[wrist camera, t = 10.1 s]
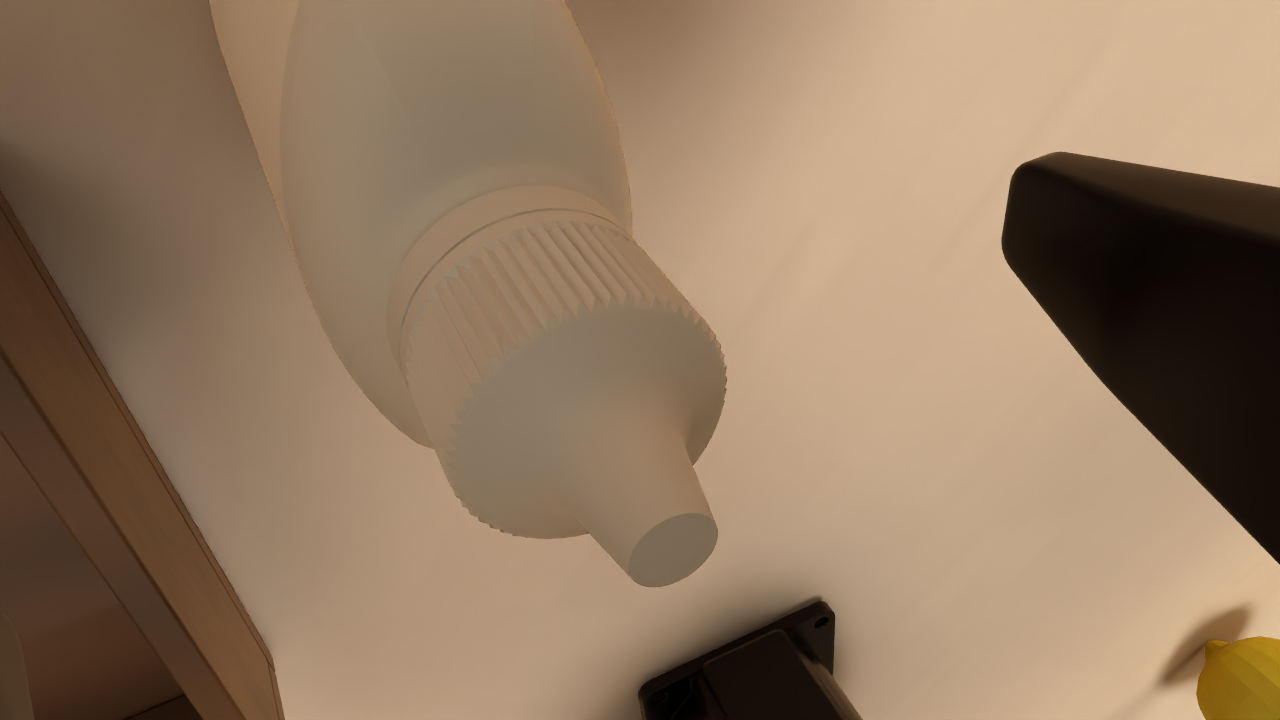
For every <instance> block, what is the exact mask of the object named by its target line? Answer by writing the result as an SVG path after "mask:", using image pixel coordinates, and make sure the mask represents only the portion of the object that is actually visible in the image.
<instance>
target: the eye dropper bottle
mask: <svg viewBox="0 0 1280 720" xmlns="http://www.w3.org/2000/svg"><path fill="white" fill-rule="evenodd" d="M209 4H210V9H211V14H212V19H213V23H214V26H215V30H216V34H217V38H218V42H219V45H220V48H221V51H222V54H223V57H224V60H225V63H226V66H227V69H228V72H229V75H230V78H231V80H232V83H233V86H234V89H235V92H236V94H237V97H238V100H239V103H240V106H241V108H242V111H243V114H244V117H245V120H246V122H247V125H248V128H249V131H250V134H251V136H252V139H253V142H254V145H255V147H256V150H257V153H258V156H259V159H260V161H261V164H262V167H263V170H264V173H265V175H266V178H267V181H268V184H269V187H270V189H271V192H272V195H273V198H274V201H275V203H276V206H277V209H278V212H279V214H280V217H281V220H282V223H283V226H284V228H285V231H286V234H287V237H288V239H289V242H290V245H291V248H292V250H293V253H294V256H295V259H296V261H297V264H298V267H299V270H300V272H301V275H302V278H303V281H304V283H305V286H306V288H307V291H308V293H309V296H310V298H311V300H312V303H313V305H314V308H315V310H316V312H317V315H318V317H319V319H320V322H321V324H322V326H323V328H324V330H325V332H326V334H327V336H328V338H329V340H330V342H331V344H332V346H333V348H334V350H335V351H336V353H337V354H338V356H339V358H340V359H341V361H342V363H343V364H344V366H345V367H346V369H347V371H348V372H349V373H350V375H351V376H352V378H353V379H354V380H355V382H356V383H357V384H358V386H359V387H360V388H361V390H362V391H363V392H364V394H365V395H366V396H367V397H368V399H369V400H370V401H371V402H372V403H373V404H374V405H375V406H376V407H377V409H378V410H379V411H380V412H381V413H382V414H383V415H384V416H385V417H386V418H387V419H388V420H389V421H390V422H391V423H393V424H394V425H395V426H396V427H397V428H398V429H399V430H400V431H402V432H403V433H404V434H406V435H407V436H408V437H410V438H411V439H413V440H414V441H415V442H417V443H419V444H421V445H424V446H427V447H429V448H432V449H435V452H436V454H437V456H438V458H439V461H440V463H441V465H442V468H443V470H444V472H445V474H446V477H447V479H448V481H449V484H450V486H451V487H452V489H453V491H454V493H455V496H456V497H457V498H459V499H460V501H461V503H462V506H463V507H466V508H468V509H469V512H470V514H471V515H474V516H476V517H478V519H479V521H480V522H483V523H487V524H489V526H490V527H491V528H495V529H500V531H501V532H504V533H510V534H512V535H514V536H522V537H525V538H538V539H554V538H566V537H574V536H579V535H583V534H588V533H590V535H591V536H592V537H593V538H594V539H595V540H596V541H597V542H598V543H599V544H600V545H601V546H602V547H603V548H604V549H605V551H606V552H607V553H608V554H609V555H610V556H611V557H612V558H613V559H614V560H615V561H616V562H617V563H618V564H619V566H620V567H621V568H622V569H623V570H624V571H625V572H626V573H627V574H628V575H629V576H630V577H631V578H632V579H633V580H634V581H635V582H636V583H638V584H640V585H642V586H646V587H661V586H666V585H670V584H673V583H675V582H678V581H680V580H682V579H684V578H685V577H687V576H689V575H690V574H692V573H693V572H694V571H696V570H697V569H698V568H699V567H700V566H701V565H702V564H703V563H704V562H705V561H706V560H707V559H708V557H709V556H710V554H711V553H712V551H713V549H714V547H715V545H716V542H717V537H718V530H717V526H716V523H715V521H714V518H713V516H712V513H711V511H710V508H709V506H708V503H707V501H706V498H705V496H704V493H703V491H702V488H701V486H700V483H699V481H698V478H697V476H696V474H695V471H694V469H693V465H694V464H695V462H696V461H697V460H698V458H699V457H700V455H701V454H702V452H703V451H704V449H705V448H706V446H707V444H708V442H709V441H710V439H711V437H712V435H713V433H714V430H715V428H716V426H717V423H718V421H719V418H720V415H721V411H722V408H723V405H724V402H725V401H724V397H725V394H726V390H727V389H726V388H725V386H726V381H727V377H726V375H725V373H726V367H727V366H726V365H725V364H724V354H723V353H722V352H721V350H720V349H721V344H720V343H719V342H718V341H717V340H716V334H715V333H714V332H713V331H712V330H711V329H710V328H709V325H708V324H707V323H706V321H705V320H704V319H703V318H702V317H701V316H700V315H699V313H698V312H697V311H696V310H695V309H694V308H693V307H692V305H691V304H690V303H689V302H688V301H687V300H686V299H685V297H684V296H683V295H682V294H681V293H680V292H679V291H678V289H677V288H676V287H675V286H674V285H673V284H672V283H671V281H670V280H669V279H668V278H667V277H666V276H665V274H664V273H663V272H662V271H661V270H660V269H659V268H658V266H657V265H656V264H655V263H654V262H653V261H652V260H651V258H650V257H649V256H648V255H647V254H646V253H645V252H644V250H643V249H642V248H641V247H640V246H639V245H638V244H637V242H636V241H635V240H634V239H633V238H632V213H631V201H630V189H629V183H628V176H627V170H626V164H625V159H624V153H623V149H622V145H621V141H620V136H619V132H618V128H617V125H616V121H615V118H614V115H613V112H612V109H611V106H610V102H609V99H608V96H607V93H606V90H605V88H604V85H603V82H602V80H601V77H600V75H599V72H598V69H597V67H596V64H595V62H594V60H593V58H592V56H591V54H590V52H589V49H588V47H587V45H586V43H585V41H584V39H583V37H582V35H581V32H580V30H579V28H578V26H577V24H576V22H575V21H574V19H573V17H572V15H571V13H570V11H569V9H568V7H567V6H566V4H565V2H564V0H209Z"/></svg>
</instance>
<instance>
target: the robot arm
mask: <svg viewBox="0 0 1280 720" xmlns="http://www.w3.org/2000/svg"><path fill="white" fill-rule="evenodd" d="M1001 243H1002V250H1003V254H1004V257H1005V259H1006V261H1007V263H1008V265H1009V266H1010V268H1011V269H1012V270H1013V272H1014V273H1015V274H1016V276H1017V277H1018V278H1019V279H1020V281H1021V282H1022V283H1023V284H1024V286H1025V287H1026V288H1027V289H1028V291H1029V292H1030V293H1031V294H1032V296H1033V297H1034V298H1035V299H1036V301H1037V302H1038V303H1039V304H1040V306H1041V307H1042V308H1043V309H1044V311H1045V312H1046V313H1047V314H1048V316H1049V317H1050V318H1051V320H1052V321H1053V322H1054V323H1055V325H1056V326H1057V327H1058V328H1059V330H1060V331H1061V332H1062V333H1063V335H1064V336H1065V337H1066V338H1067V340H1068V341H1069V342H1070V343H1071V345H1072V346H1073V347H1074V348H1075V350H1076V351H1077V352H1078V353H1079V355H1080V356H1081V357H1082V358H1083V360H1084V361H1085V362H1086V363H1087V365H1088V366H1089V367H1090V368H1091V369H1092V371H1093V372H1094V373H1095V374H1096V375H1097V377H1098V378H1099V379H1100V380H1101V381H1102V382H1103V384H1104V385H1105V386H1106V387H1107V388H1108V389H1109V390H1110V391H1111V392H1112V393H1113V394H1114V395H1115V396H1116V398H1117V399H1118V400H1119V401H1120V402H1121V403H1122V404H1123V405H1124V406H1125V407H1126V408H1127V409H1128V410H1129V411H1130V412H1131V413H1132V414H1133V415H1134V416H1135V417H1136V418H1137V419H1138V420H1139V421H1140V422H1141V423H1142V424H1143V425H1144V426H1145V427H1146V428H1147V429H1148V430H1149V431H1150V432H1151V433H1152V434H1153V435H1154V437H1155V438H1156V439H1157V440H1158V441H1159V442H1160V443H1161V444H1162V445H1163V446H1164V447H1165V448H1166V449H1167V450H1168V451H1169V452H1170V453H1171V454H1172V455H1173V456H1174V457H1175V458H1176V459H1177V460H1178V461H1179V462H1180V463H1181V464H1182V465H1183V466H1184V467H1185V468H1186V469H1187V470H1188V471H1189V472H1190V473H1191V474H1192V475H1193V476H1194V477H1195V478H1196V479H1197V480H1198V482H1199V483H1200V484H1201V485H1202V486H1203V487H1204V488H1205V489H1206V490H1207V491H1208V492H1209V493H1210V494H1211V495H1212V496H1213V497H1214V498H1215V499H1216V500H1217V501H1218V502H1219V503H1220V504H1221V505H1222V506H1223V507H1224V508H1225V509H1226V510H1227V511H1228V512H1229V513H1230V514H1231V515H1232V516H1233V517H1234V518H1235V519H1236V520H1237V521H1238V522H1239V523H1240V524H1241V525H1242V527H1243V528H1244V529H1245V530H1246V531H1247V532H1248V533H1249V534H1250V535H1251V536H1252V537H1253V538H1254V539H1255V540H1256V541H1257V542H1258V543H1259V544H1260V545H1261V546H1262V547H1263V548H1264V549H1265V550H1266V551H1267V552H1268V553H1269V554H1270V555H1271V556H1272V557H1273V558H1274V559H1275V560H1276V561H1277V562H1278V563H1279V564H1280V188H1279V187H1273V186H1267V185H1261V184H1255V183H1249V182H1243V181H1236V180H1230V179H1224V178H1218V177H1212V176H1206V175H1200V174H1194V173H1188V172H1182V171H1176V170H1170V169H1164V168H1158V167H1152V166H1146V165H1140V164H1134V163H1128V162H1122V161H1116V160H1110V159H1104V158H1098V157H1092V156H1086V155H1079V154H1073V153H1067V152H1054V153H1050V154H1047V155H1044V156H1042V157H1039V158H1036V159H1033V160H1031V161H1028V162H1025V163H1023V164H1021V165H1020V166H1019V167H1018V168H1017V169H1016V170H1015V172H1014V174H1013V175H1012V178H1011V182H1010V187H1009V194H1008V200H1007V207H1006V213H1005V219H1004V226H1003V232H1002V241H1001ZM834 633H835V614H834V612H833V611H832V609H831V608H830V607H829V605H828V604H827V603H826V602H817V603H814V604H812V605H809V606H807V607H805V608H803V609H801V610H799V611H797V612H794V613H792V614H790V615H788V616H786V617H784V618H782V619H779V620H777V621H775V622H773V623H771V624H769V625H767V626H764V627H762V628H760V629H758V630H756V631H754V632H752V633H749V634H747V635H745V636H743V637H741V638H739V639H737V640H734V641H732V642H730V643H728V644H726V645H724V646H722V647H719V648H717V649H715V650H713V651H711V652H709V653H707V654H704V655H702V656H700V657H698V658H696V659H694V660H692V661H689V662H687V663H685V664H683V665H681V666H679V667H677V668H674V669H672V670H670V671H668V672H666V673H664V674H662V675H660V676H657V677H655V678H653V679H651V680H649V681H648V682H646V683H645V684H644V685H643V686H642V687H641V688H640V690H639V692H638V698H639V704H640V709H641V715H642V720H863V719H862V718H861V716H860V715H859V714H858V712H857V711H856V709H855V708H854V707H853V705H852V704H851V702H850V701H849V699H848V698H847V697H846V695H845V694H844V692H843V691H842V690H841V688H840V687H839V685H838V684H837V682H836V681H835V680H834V678H833V659H834ZM0 720H34V715H33V709H32V703H31V697H30V691H29V684H28V678H27V672H26V666H25V660H24V654H23V649H22V645H21V642H20V639H19V637H18V634H17V632H16V630H15V628H14V626H13V624H12V623H11V621H10V620H9V619H8V617H7V616H6V615H5V614H4V613H3V611H2V610H1V609H0Z"/></svg>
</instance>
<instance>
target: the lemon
mask: <svg viewBox="0 0 1280 720" xmlns="http://www.w3.org/2000/svg"><path fill="white" fill-rule="evenodd" d="M1204 650H1205V665H1204V668H1203V670H1202V672H1201V674H1200V676H1199V679H1198V686H1197V693H1196V694H1197V699H1198V704H1199V707H1200V709H1201V711H1202V713H1203V716H1204V717H1205V719H1206V720H1280V640H1278V639H1274V638H1267V637H1261V636H1260V637H1252V638H1246V639H1241V640H1238V641H1235V642H1226V641H1220V640H1212V641H1209V642H1207V643H1206V645H1205V648H1204Z"/></svg>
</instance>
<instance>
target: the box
mask: <svg viewBox="0 0 1280 720" xmlns="http://www.w3.org/2000/svg"><path fill="white" fill-rule="evenodd" d="M0 609H1V610H2V611H3V613H4V614H5V615H6V616H7V617H8V619H9V620H10V621H11V623H12V624H13V626H14V628H15V630H16V632H17V634H18V637H19V639H20V642H21V645H22V649H23V654H24V660H25V666H26V672H27V678H28V684H29V691H30V697H31V703H32V709H33V715H34V720H285V718H284V713H283V708H282V703H281V698H280V693H279V688H278V683H277V678H276V674H275V668H274V663H273V658H272V656H271V654H270V653H269V651H268V649H267V647H266V646H265V644H264V642H263V641H262V639H261V637H260V635H259V634H258V632H257V630H256V629H255V627H254V625H253V623H252V622H251V620H250V618H249V617H248V615H247V613H246V611H245V610H244V608H243V606H242V605H241V603H240V601H239V599H238V598H237V596H236V594H235V593H234V591H233V589H232V587H231V586H230V584H229V582H228V581H227V579H226V577H225V575H224V574H223V572H222V570H221V569H220V567H219V565H218V563H217V562H216V560H215V558H214V557H213V555H212V553H211V551H210V550H209V548H208V546H207V545H206V543H205V541H204V539H203V538H202V536H201V534H200V533H199V531H198V529H197V527H196V526H195V524H194V522H193V521H192V519H191V517H190V515H189V514H188V512H187V510H186V509H185V507H184V505H183V503H182V502H181V500H180V498H179V497H178V495H177V493H176V491H175V490H174V488H173V486H172V485H171V483H170V481H169V479H168V478H167V476H166V474H165V473H164V471H163V469H162V467H161V466H160V464H159V462H158V461H157V459H156V457H155V455H154V454H153V452H152V450H151V449H150V447H149V445H148V443H147V442H146V440H145V438H144V437H143V435H142V433H141V431H140V430H139V428H138V426H137V424H136V423H135V421H134V419H133V418H132V416H131V414H130V412H129V411H128V409H127V407H126V406H125V404H124V402H123V400H122V399H121V397H120V395H119V394H118V392H117V390H116V388H115V387H114V385H113V383H112V382H111V380H110V378H109V376H108V375H107V373H106V371H105V370H104V368H103V366H102V364H101V363H100V361H99V359H98V358H97V356H96V354H95V352H94V351H93V349H92V347H91V346H90V344H89V342H88V340H87V339H86V337H85V335H84V334H83V332H82V330H81V328H80V327H79V325H78V323H77V322H76V320H75V318H74V316H73V315H72V313H71V311H70V310H69V308H68V306H67V304H66V303H65V301H64V299H63V298H62V296H61V294H60V292H59V291H58V289H57V287H56V286H55V284H54V282H53V280H52V279H51V277H50V275H49V274H48V272H47V270H46V268H45V267H44V265H43V263H42V262H41V260H40V258H39V256H38V255H37V253H36V251H35V250H34V248H33V246H32V244H31V243H30V241H29V239H28V238H27V236H26V234H25V232H24V231H23V229H22V227H21V226H20V224H19V222H18V220H17V219H16V217H15V215H14V214H13V212H12V210H11V208H10V207H9V205H8V203H7V202H6V200H5V198H4V196H3V195H2V193H1V191H0Z"/></svg>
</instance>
